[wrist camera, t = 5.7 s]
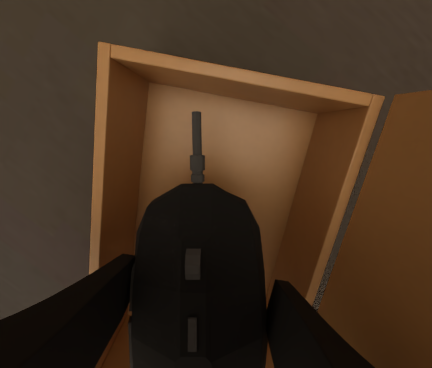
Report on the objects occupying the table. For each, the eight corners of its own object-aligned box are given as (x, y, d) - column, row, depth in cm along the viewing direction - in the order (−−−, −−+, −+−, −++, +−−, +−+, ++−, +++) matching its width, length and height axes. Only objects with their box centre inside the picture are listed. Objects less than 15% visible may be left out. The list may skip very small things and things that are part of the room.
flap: (776, 45, 3) (789, 50, 3) (394, 94, 8) (401, 96, 8) (335, 652, 7) (343, 651, 8) (274, 430, 13) (279, 430, 13)
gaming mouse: (271, 111, 9) (309, 100, 5) (258, 376, 13) (274, 482, 9) (122, 112, 9) (55, 103, 6) (151, 374, 13) (122, 479, 9)
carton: (144, 73, 14) (97, 40, 9) (323, 107, 14) (386, 95, 9) (123, 313, 18) (84, 388, 13) (258, 334, 19) (273, 417, 13)
